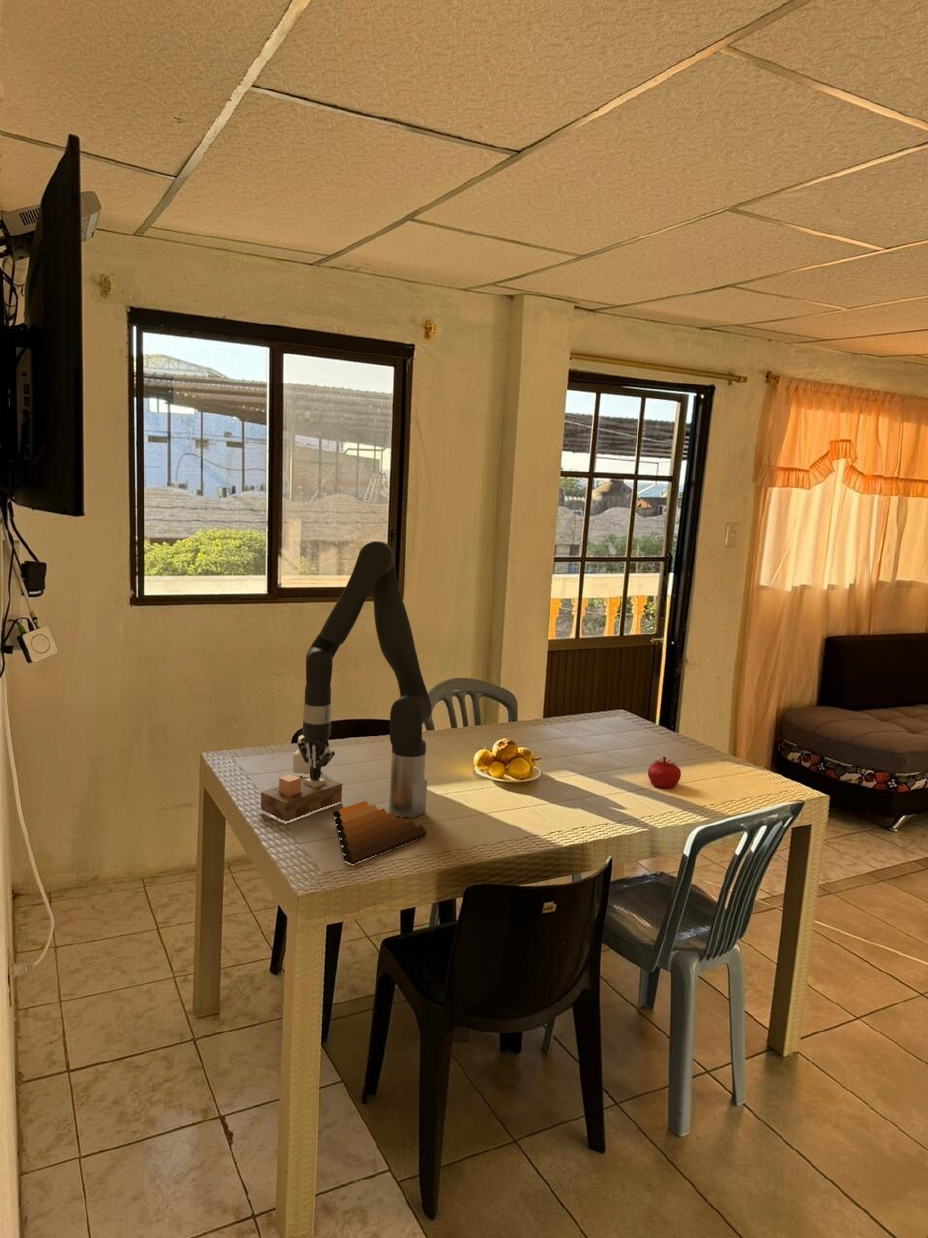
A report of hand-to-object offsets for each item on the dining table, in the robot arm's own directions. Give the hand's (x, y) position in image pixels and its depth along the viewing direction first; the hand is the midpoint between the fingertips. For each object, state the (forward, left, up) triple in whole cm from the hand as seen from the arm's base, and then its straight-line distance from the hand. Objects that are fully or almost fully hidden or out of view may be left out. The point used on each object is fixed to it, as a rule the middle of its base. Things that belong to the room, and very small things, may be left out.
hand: (314, 779), depth 238 cm
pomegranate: (-63, -88, -7) cm, 109 cm away
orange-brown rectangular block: (0, +9, -3) cm, 9 cm away
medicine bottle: (+19, -14, -7) cm, 25 cm away
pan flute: (-23, +6, -8) cm, 25 cm away
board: (0, +5, -7) cm, 8 cm away
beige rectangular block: (0, 0, -5) cm, 5 cm away
